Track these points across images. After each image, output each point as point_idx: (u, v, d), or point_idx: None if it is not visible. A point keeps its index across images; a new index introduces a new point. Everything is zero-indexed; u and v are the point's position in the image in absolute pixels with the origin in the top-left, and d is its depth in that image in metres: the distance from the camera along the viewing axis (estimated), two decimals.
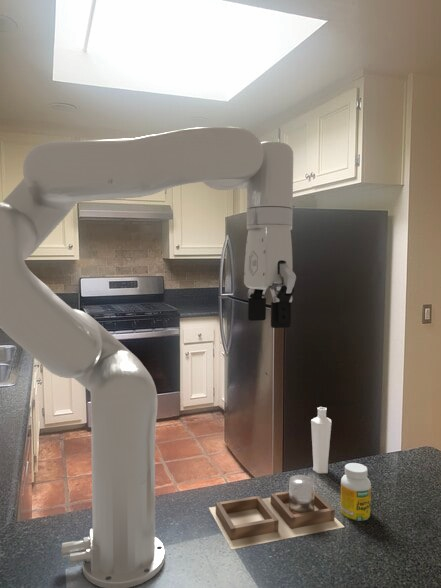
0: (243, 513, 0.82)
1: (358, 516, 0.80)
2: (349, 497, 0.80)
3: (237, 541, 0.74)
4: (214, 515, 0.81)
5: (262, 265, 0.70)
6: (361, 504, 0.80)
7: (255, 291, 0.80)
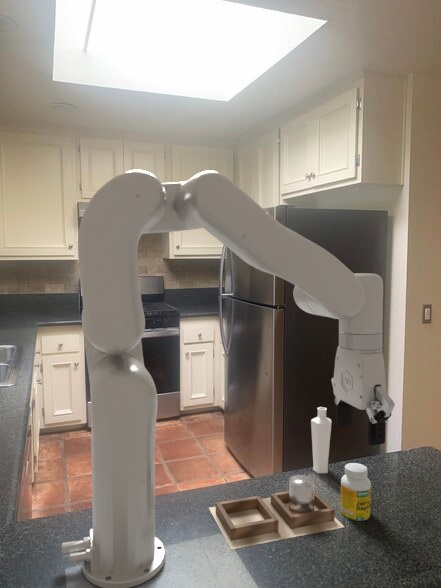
0: (243, 513, 0.82)
1: (358, 516, 0.80)
2: (349, 497, 0.80)
3: (237, 541, 0.74)
4: (214, 515, 0.81)
5: (359, 388, 0.77)
6: (361, 504, 0.80)
7: None
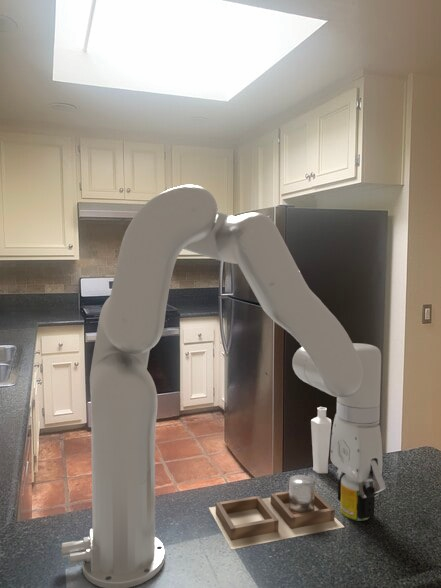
0: (243, 513, 0.82)
1: None
2: (349, 497, 0.80)
3: (237, 541, 0.74)
4: (214, 515, 0.81)
5: (355, 461, 0.78)
6: None
7: (344, 472, 0.86)
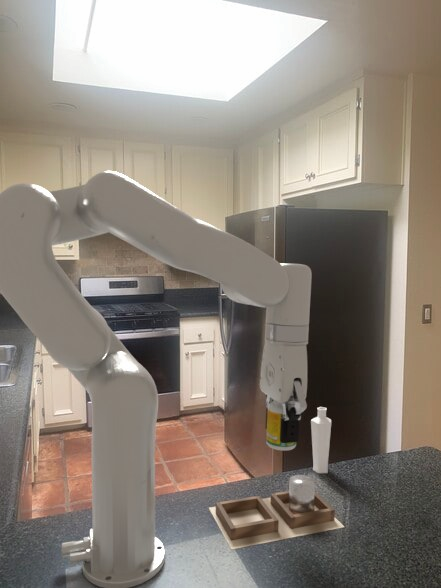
0: (243, 513, 0.82)
1: None
2: (274, 421, 0.77)
3: (237, 541, 0.74)
4: (214, 515, 0.81)
5: (279, 380, 0.74)
6: None
7: None
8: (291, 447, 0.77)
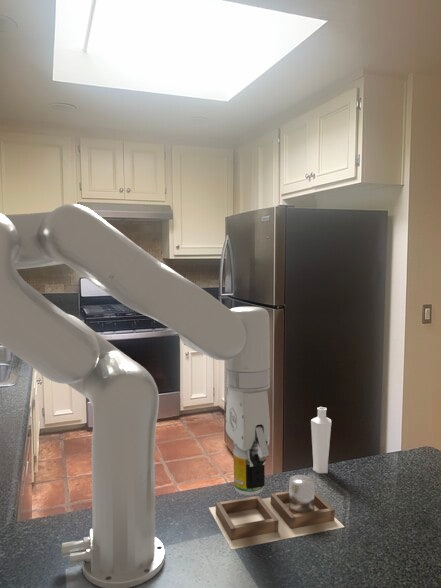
0: (243, 513, 0.82)
1: None
2: (239, 466, 0.77)
3: (237, 541, 0.74)
4: (214, 515, 0.81)
5: (241, 428, 0.74)
6: None
7: None
8: (258, 491, 0.77)
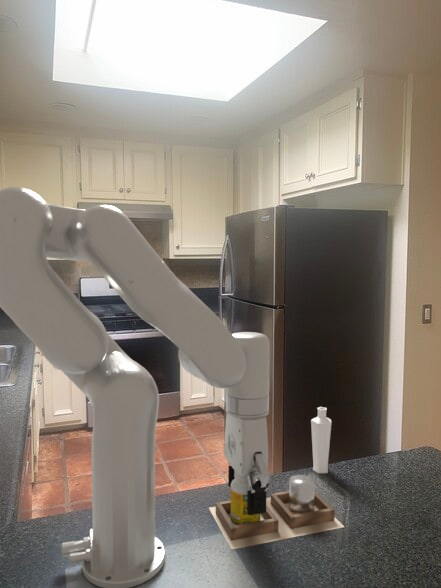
0: None
1: (245, 521, 0.76)
2: (236, 501, 0.77)
3: (237, 541, 0.74)
4: (214, 515, 0.81)
5: (239, 454, 0.74)
6: None
7: None
8: None
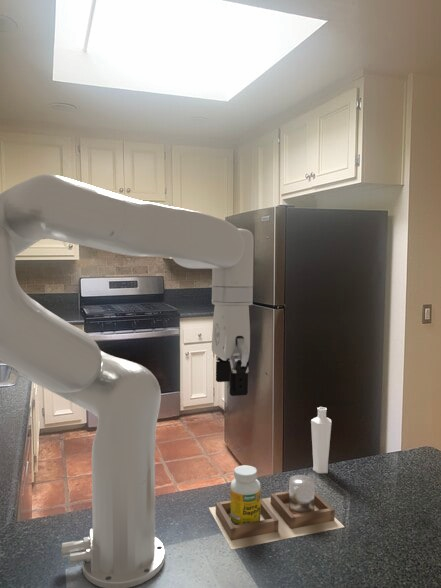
0: None
1: (245, 522, 0.76)
2: (236, 502, 0.77)
3: (237, 541, 0.74)
4: (214, 515, 0.81)
5: (222, 339, 0.79)
6: (247, 509, 0.76)
7: None
8: None
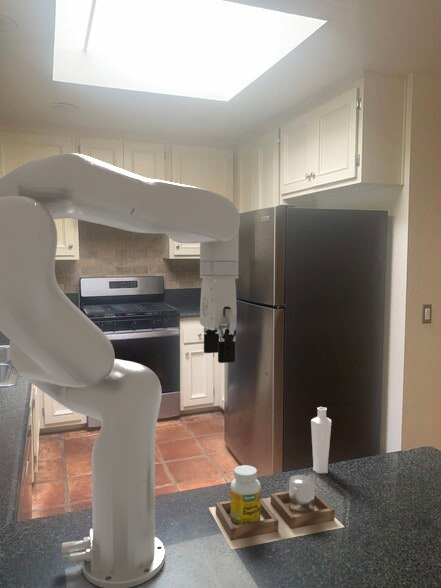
0: None
1: (245, 522, 0.76)
2: (236, 502, 0.77)
3: (237, 541, 0.74)
4: (214, 515, 0.81)
5: (211, 310, 0.84)
6: (247, 509, 0.76)
7: None
8: None
